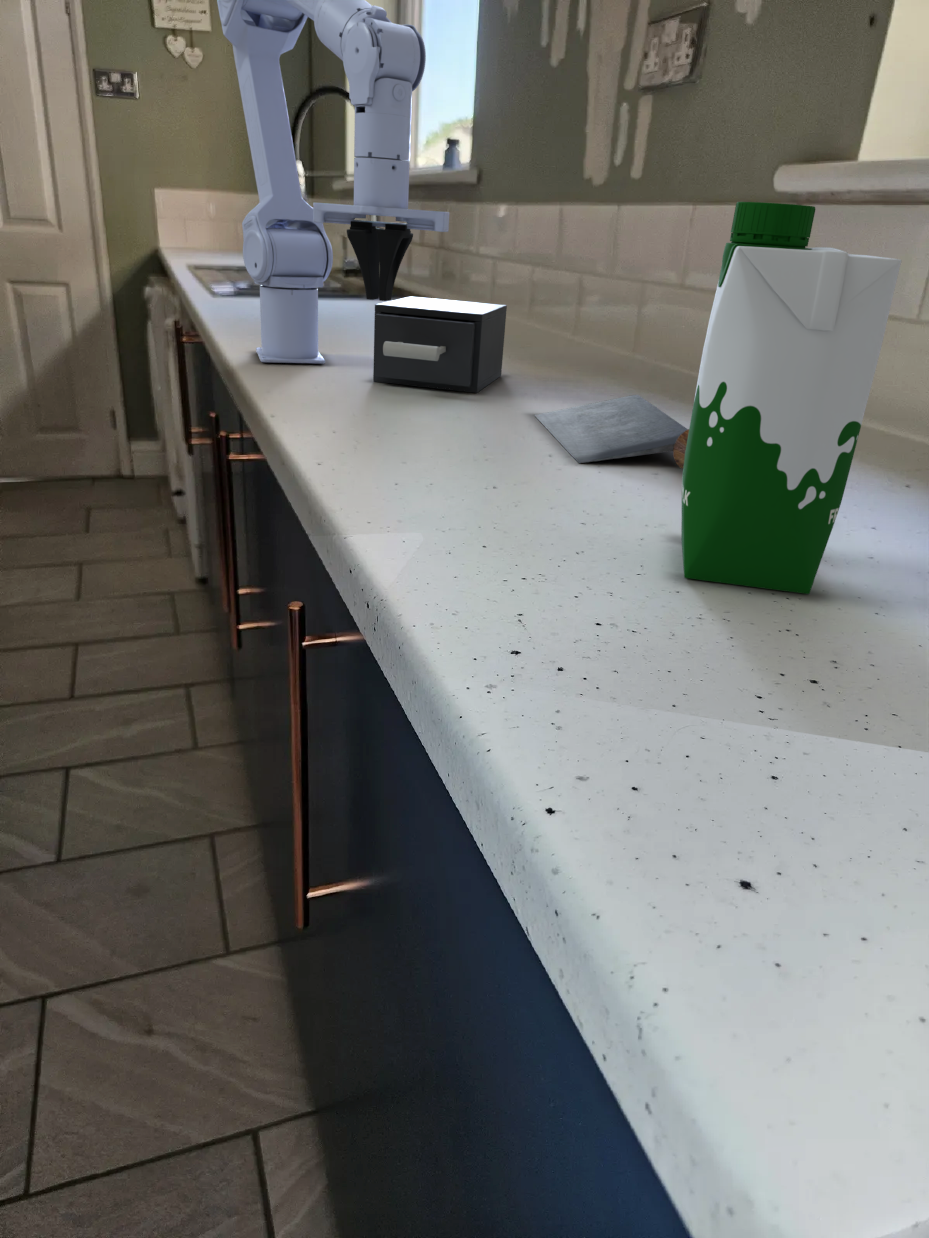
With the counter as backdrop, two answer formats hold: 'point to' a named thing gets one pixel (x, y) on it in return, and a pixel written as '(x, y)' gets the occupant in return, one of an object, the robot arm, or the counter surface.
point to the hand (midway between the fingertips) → (378, 299)
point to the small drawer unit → (485, 340)
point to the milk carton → (779, 399)
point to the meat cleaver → (616, 430)
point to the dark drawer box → (424, 349)
